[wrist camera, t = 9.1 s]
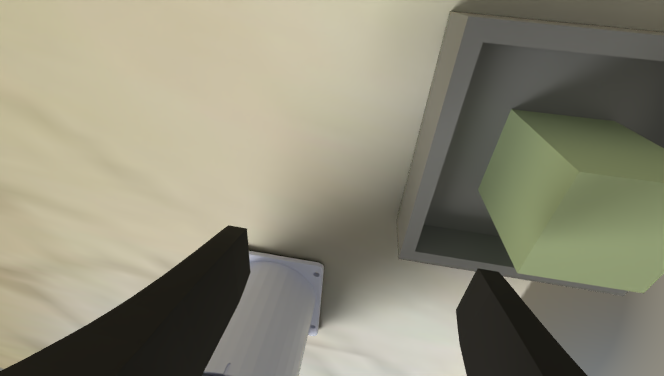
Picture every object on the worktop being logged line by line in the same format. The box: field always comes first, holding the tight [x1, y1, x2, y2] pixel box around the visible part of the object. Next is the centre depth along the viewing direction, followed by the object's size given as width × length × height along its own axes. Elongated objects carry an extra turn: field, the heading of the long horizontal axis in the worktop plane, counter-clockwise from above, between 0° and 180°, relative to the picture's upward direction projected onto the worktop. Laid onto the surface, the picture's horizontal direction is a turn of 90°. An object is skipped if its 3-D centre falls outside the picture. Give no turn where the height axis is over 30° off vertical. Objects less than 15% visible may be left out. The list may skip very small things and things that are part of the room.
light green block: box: [478, 109, 664, 293], centre depth 13 cm, size 5×5×6 cm
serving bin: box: [397, 11, 664, 296], centre depth 15 cm, size 12×12×4 cm
